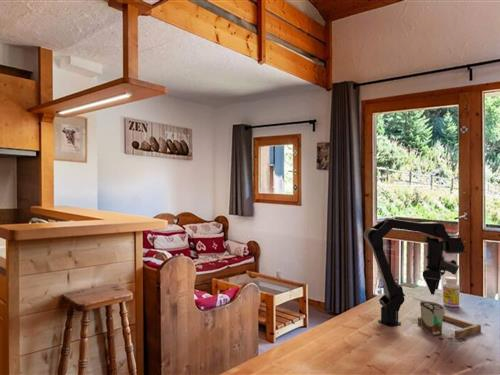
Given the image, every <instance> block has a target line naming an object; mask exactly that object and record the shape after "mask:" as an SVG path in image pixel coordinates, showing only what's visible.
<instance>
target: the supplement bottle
mask: <svg viewBox="0 0 500 375" xmlns="http://www.w3.org/2000/svg"><path fill="white" fill-rule="evenodd" d="M444 279H445V282H443V284H442V303H443V306H446V307H451V308H457V307H459V306H460V284H458V283H457V282H458V279H457V277H455V276H445V277H444Z"/></svg>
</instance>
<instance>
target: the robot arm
mask: <svg viewBox="0 0 500 375" xmlns="http://www.w3.org/2000/svg"><path fill="white" fill-rule="evenodd" d="M393 229H396V230H404V231H411V232H416V233H417V232H418V233H422V234H425V235H426V236H425V237H424V238H422V239H421V242H424V243H426V256H425V258H426V266H425V269H424V270H423V271H422V278H423V279H424V281H425V283H426V285H427V288H428V290H429V291H430V295H435V293H436V290H438V289H439V286H440V282H441V280H442V277H443V276H444V275H445V274H446V272H448V273H450V274H451V275H455V276H456V274H457V272H458V271H459V268H460V265H459V264H458V263H457V261H456V260H455V259H452V260H450V261H449V260H446V259H445V256H444V253H446V254H450V255H451V254H455V255H457V254H459V255H460V254H463V253H464V252H465V245H464V242H463V240H462V237H461V236H450V235H449V234H448V232H447V231H446V226H445V225H444V224H443V223H440V222H436V221H422V222H416V221H409V220H401V219H396V218H395V219H394V218H390V217H386V218H384V219H383V220H382V221H380V222H379V223H377V224H375V225H374V226H372V227H368V228H366V229H365V230H364V231H363V238H364V240H365V242H366V243H367V246H368V247H369V248H370V249H371V251H372V253H373V256H374V259H375V262H376V265H377V267H378V270H379V273H380V276H381V279H382V282H383V293H384V294H383V295H382V296H381V297H380V298H379V299H378V302H379V304H380V305H381V308H380V319H378V320H377V322H378V323H380V324H384V325H386V326H388V327H393V326H398V325H401V324H402V322H401V321H399V311H400V309H401V306H403V303H404V302H405V297H406V294H405V293H404V290H403V287H402V285H400V284H399V283H398V282H396V281H395V279H394V276H393V273H392V270H391V268H390V264H389V261H388V259H387V255H386V254H385V250H384V237H385V236H387V234H388V233H390V232H391V230H393ZM430 236H431V237H430ZM440 239H441V240H440Z"/></svg>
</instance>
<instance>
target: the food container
mask: <svg viewBox="0 0 500 375" xmlns="http://www.w3.org/2000/svg"><path fill="white" fill-rule="evenodd" d="M419 306H420V317H421V322H422V324H421V328H422V329H424V330H425V331H426V332H428V334H430V335H431V336H432V337H439V336H441V335H442V331H443V321H444V320H443V315H446V311H445V308H444V305H442V304H439V303H436V302H434V301H433V302H432V301H428V300H420V303H419Z"/></svg>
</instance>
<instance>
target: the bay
mask: <svg viewBox="0 0 500 375" xmlns="http://www.w3.org/2000/svg"><path fill="white" fill-rule="evenodd" d="M443 321H445V322H448V323H451V324H454V325H456V326H460V327H462V328H459V329H457V330H456V329H455V330H454V338H455V339H461V338H465V337H468V336H471V335H474V334H477V333H480V332H481V331H482V325H481V324H480V323H479V324H478V323H476V324H475V323H472V322H469V321H465V320H463V319H459V318H457V317H454V316H450V315H447V314H444V315H443ZM417 324H418V325H421V326H422V322H421V316H418V317H417Z"/></svg>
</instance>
